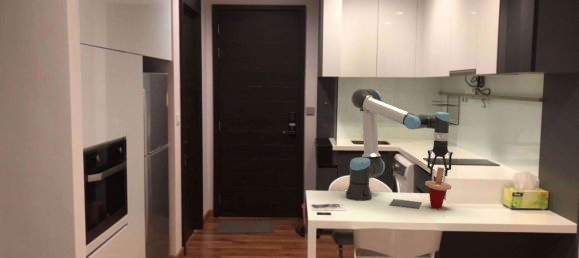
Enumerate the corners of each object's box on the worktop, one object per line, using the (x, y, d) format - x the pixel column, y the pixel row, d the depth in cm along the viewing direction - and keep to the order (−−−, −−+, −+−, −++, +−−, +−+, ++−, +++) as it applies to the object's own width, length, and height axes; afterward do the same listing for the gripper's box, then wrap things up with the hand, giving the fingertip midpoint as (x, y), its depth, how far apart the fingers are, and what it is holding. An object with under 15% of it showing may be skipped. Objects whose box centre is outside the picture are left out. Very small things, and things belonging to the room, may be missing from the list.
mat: (389, 205, 279) (389, 204, 279) (393, 199, 293) (393, 198, 293) (418, 208, 274) (418, 207, 274) (421, 203, 288) (421, 202, 288)
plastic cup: (447, 210, 272) (448, 189, 271) (427, 208, 275) (428, 187, 273) (445, 206, 283) (447, 185, 282) (426, 204, 285) (427, 183, 284)
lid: (424, 186, 273) (426, 167, 272) (426, 182, 286) (429, 164, 285) (450, 191, 269) (453, 172, 267) (451, 186, 282) (454, 168, 281)
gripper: (423, 139, 275) (420, 180, 277) (458, 142, 268) (455, 184, 271) (424, 138, 282) (422, 178, 284) (458, 140, 275) (455, 182, 278)
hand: (438, 181), depth 277 cm, fingers open, 5 cm apart
